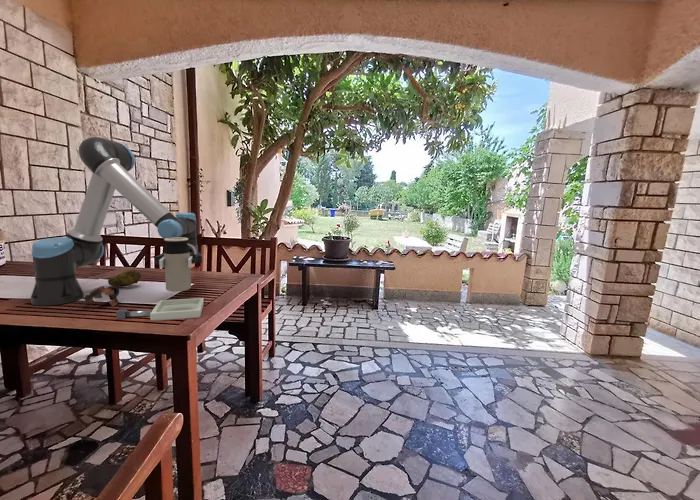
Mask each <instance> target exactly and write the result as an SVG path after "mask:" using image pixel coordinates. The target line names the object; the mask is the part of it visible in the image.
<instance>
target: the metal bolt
mask: <svg viewBox="0 0 700 500" xmlns="http://www.w3.org/2000/svg"><path fill="white" fill-rule="evenodd" d="M151 312H152V310H150V309H145V310H144V309H143V310H131V311H128V309H127V308H120V309H118V310H116V320H125V319H128V318H139V317H140V318H142V317H150V313H151Z"/></svg>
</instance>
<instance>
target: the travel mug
mask: <svg viewBox="0 0 700 500" xmlns="http://www.w3.org/2000/svg"><path fill="white" fill-rule="evenodd" d="M163 241H165V245H164V247H163V253H164V263H165V266H164V277H165V290H166V291H168V292H173V293H174V292H184V291H188V290H190V289H191V288H192V276H191V275H192V274H191V271H192V270H191V267H188V259H189V258H190V248H189V246H188V244H187V241H188V238H182V237H176V238H165V239H164V238H163Z"/></svg>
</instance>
